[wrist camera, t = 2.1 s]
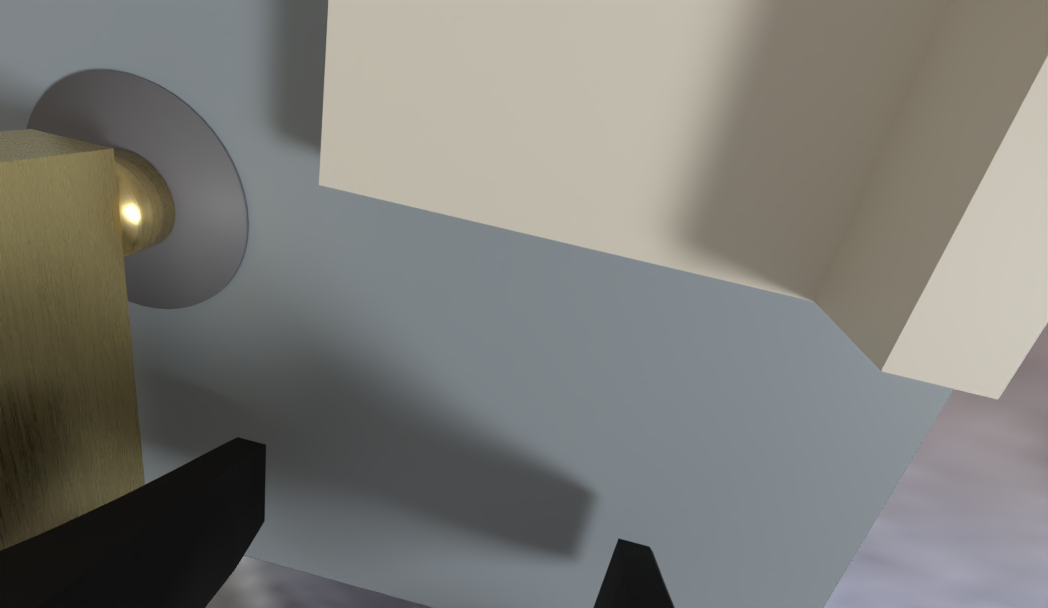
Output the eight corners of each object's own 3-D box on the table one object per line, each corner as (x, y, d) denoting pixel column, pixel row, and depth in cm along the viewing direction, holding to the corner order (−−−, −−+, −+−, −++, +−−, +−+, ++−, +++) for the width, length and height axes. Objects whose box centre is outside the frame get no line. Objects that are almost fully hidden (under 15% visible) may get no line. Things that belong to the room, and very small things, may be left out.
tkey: (190, 502, 13) (8, 683, 9) (119, 482, 13) (-93, 653, 9) (171, 145, 10) (-125, 185, 6) (76, 122, 10) (-278, 146, 6)
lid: (855, 285, 9) (998, 399, 6) (361, 170, 9) (231, 214, 6) (1026, -76, 7) (1392, -217, 4) (391, -199, 7) (226, -418, 4)
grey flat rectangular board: (743, 606, 15) (769, 705, 13) (100, 434, 16) (11, 494, 14) (1058, -7, 9) (1217, -40, 7) (17, -214, 10) (-163, -306, 8)
